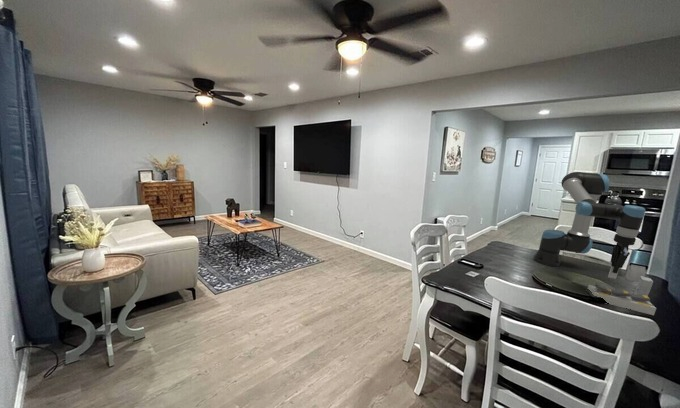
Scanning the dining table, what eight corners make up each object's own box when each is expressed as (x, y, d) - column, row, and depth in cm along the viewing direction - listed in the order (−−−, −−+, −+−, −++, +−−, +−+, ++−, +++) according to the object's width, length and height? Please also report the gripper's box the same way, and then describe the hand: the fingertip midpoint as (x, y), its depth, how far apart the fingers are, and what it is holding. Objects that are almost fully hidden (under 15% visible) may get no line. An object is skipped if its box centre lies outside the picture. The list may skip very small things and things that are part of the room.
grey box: (642, 282, 170) (647, 268, 168) (628, 280, 173) (632, 265, 171) (638, 280, 174) (643, 266, 172) (624, 277, 176) (629, 263, 174)
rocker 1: (596, 288, 145) (598, 286, 145) (594, 285, 149) (596, 283, 148) (610, 294, 143) (612, 292, 142) (607, 291, 146) (609, 289, 146)
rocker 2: (613, 294, 142) (614, 292, 142) (611, 291, 146) (611, 288, 145) (629, 296, 139) (630, 293, 139) (626, 293, 143) (626, 290, 142)
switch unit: (592, 299, 144) (595, 292, 143) (586, 291, 153) (588, 284, 153) (653, 315, 133) (656, 307, 132) (643, 305, 143) (645, 297, 142)
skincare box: (632, 294, 153) (639, 275, 151) (644, 298, 150) (651, 278, 148) (634, 299, 149) (641, 278, 146) (646, 302, 146) (653, 282, 143)
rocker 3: (633, 299, 139) (633, 296, 139) (630, 296, 142) (630, 293, 142) (650, 301, 136) (650, 298, 136) (646, 298, 139) (646, 295, 139)
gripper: (641, 241, 131) (626, 285, 136) (630, 233, 142) (616, 274, 147) (620, 237, 134) (606, 280, 140) (611, 230, 145) (598, 271, 151)
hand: (611, 277), depth 143 cm, fingers closed
